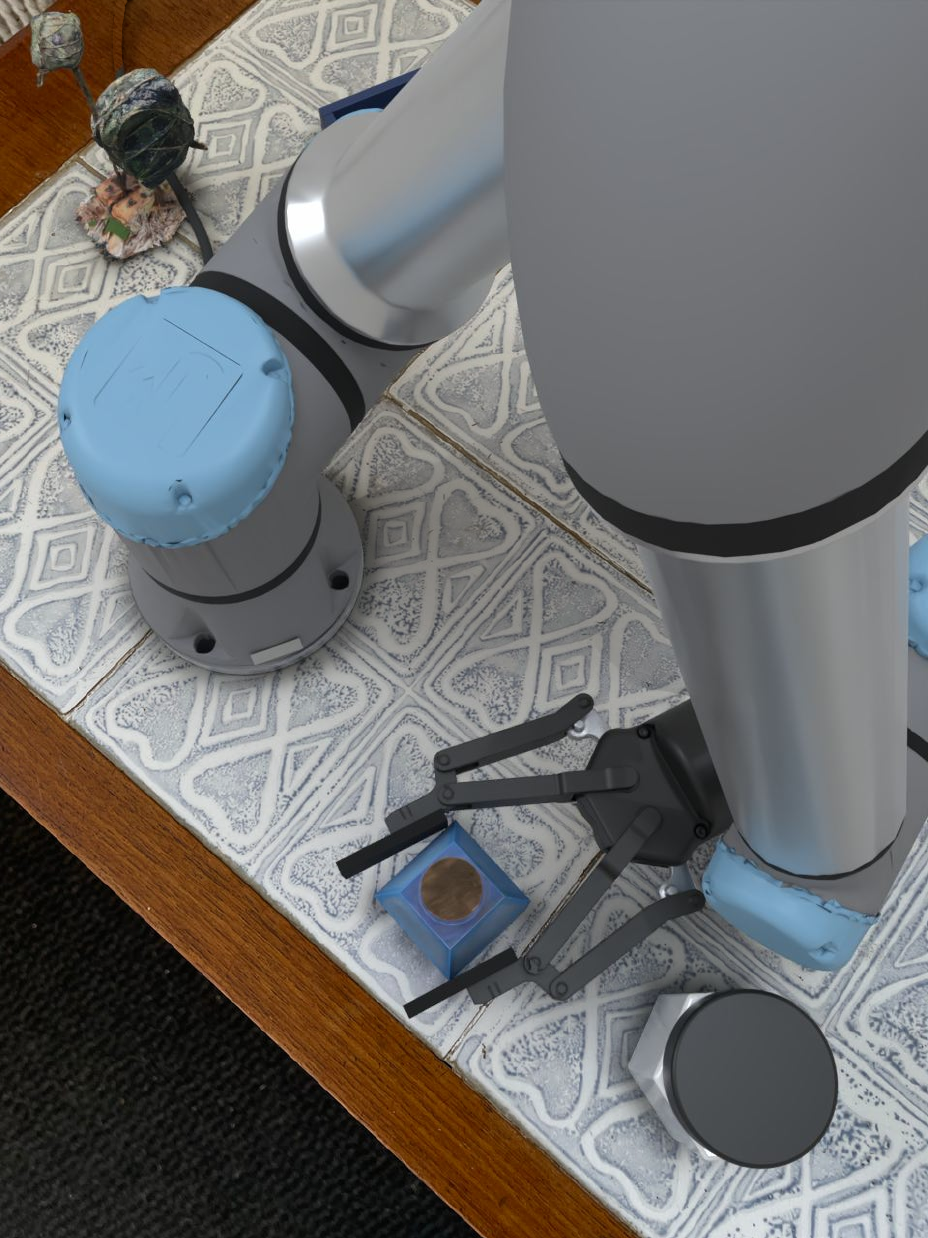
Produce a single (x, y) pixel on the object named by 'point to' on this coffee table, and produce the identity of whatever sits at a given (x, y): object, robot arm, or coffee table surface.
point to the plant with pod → (124, 144)
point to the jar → (737, 1075)
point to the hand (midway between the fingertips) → (373, 940)
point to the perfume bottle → (452, 900)
